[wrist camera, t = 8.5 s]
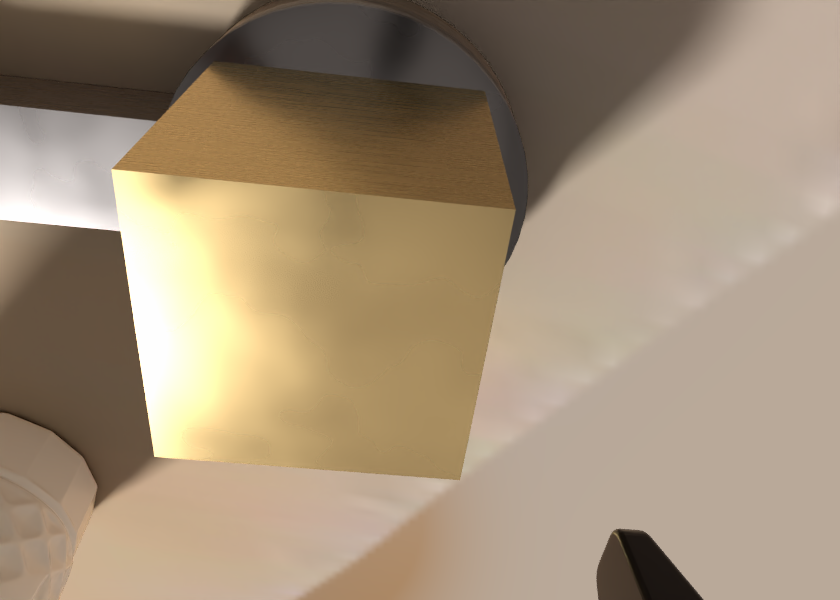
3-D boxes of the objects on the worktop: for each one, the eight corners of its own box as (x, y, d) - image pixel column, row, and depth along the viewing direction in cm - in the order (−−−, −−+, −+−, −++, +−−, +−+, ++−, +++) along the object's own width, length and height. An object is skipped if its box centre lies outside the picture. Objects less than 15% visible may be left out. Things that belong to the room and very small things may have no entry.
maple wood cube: (214, 60, 15) (111, 168, 10) (485, 90, 15) (515, 209, 10) (226, 289, 18) (154, 456, 13) (449, 310, 19) (460, 480, 14)
